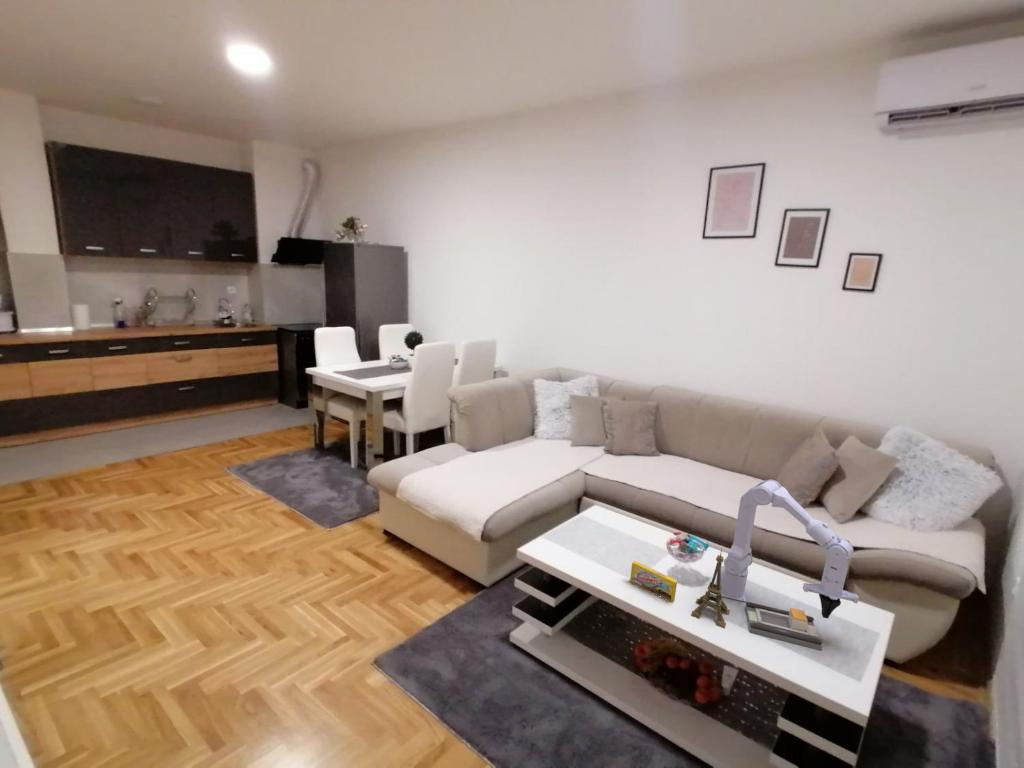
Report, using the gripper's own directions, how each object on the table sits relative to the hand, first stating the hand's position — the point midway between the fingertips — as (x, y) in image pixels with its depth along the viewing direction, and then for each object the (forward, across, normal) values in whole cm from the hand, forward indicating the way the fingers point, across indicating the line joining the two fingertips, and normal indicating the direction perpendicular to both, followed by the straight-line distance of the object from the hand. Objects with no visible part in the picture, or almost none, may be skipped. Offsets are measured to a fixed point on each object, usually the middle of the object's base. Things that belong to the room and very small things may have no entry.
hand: (824, 616), depth 159 cm
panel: (+8, -11, 0) cm, 14 cm away
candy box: (+8, -52, +3) cm, 52 cm away
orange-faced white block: (+6, -7, 0) cm, 9 cm away
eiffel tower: (+8, -33, -2) cm, 34 cm away
